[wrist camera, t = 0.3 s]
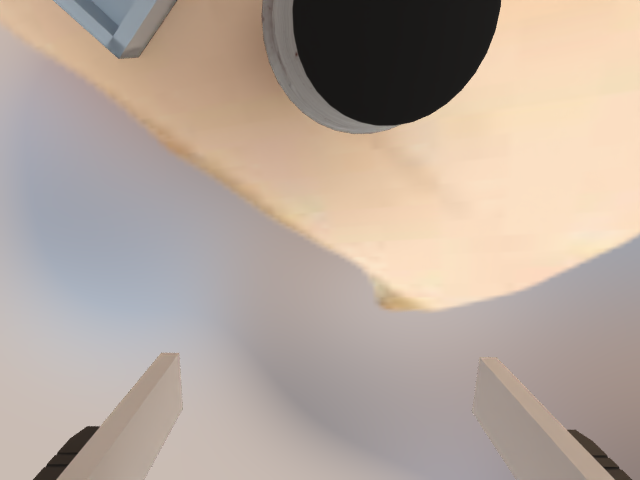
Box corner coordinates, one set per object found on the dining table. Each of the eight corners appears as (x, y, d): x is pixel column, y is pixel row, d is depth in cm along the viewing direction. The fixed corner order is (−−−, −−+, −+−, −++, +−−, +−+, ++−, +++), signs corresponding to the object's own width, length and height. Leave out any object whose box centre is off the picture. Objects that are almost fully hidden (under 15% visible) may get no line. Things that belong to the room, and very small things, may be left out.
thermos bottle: (377, -23, 30) (649, -305, 5) (379, 77, 34) (539, 166, 10) (288, -11, 30) (174, -227, 6) (300, 86, 34) (263, 195, 10)
